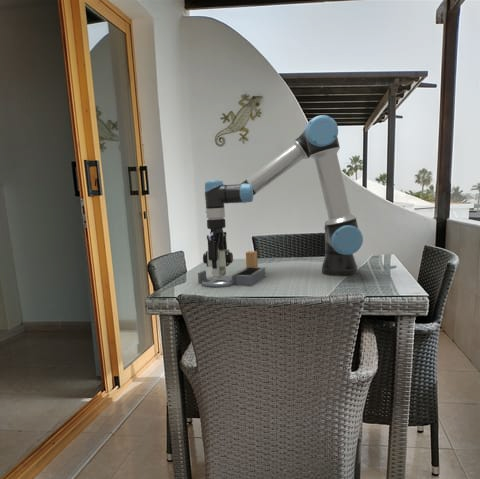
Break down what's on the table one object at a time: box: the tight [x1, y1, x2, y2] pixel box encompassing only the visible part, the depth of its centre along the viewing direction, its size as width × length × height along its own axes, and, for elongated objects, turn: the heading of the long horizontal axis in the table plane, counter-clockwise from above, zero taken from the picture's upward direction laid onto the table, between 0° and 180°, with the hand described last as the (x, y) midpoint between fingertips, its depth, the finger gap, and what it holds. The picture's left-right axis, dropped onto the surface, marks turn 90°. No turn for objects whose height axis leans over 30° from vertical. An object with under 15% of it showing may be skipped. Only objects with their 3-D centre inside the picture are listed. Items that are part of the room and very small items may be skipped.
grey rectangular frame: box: [231, 266, 267, 287], centre depth 149 cm, size 9×17×4 cm, turn 157°
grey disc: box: [197, 270, 241, 289], centre depth 148 cm, size 18×15×4 cm
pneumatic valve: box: [202, 248, 234, 277], centre depth 148 cm, size 6×12×12 cm, turn 78°
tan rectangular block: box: [245, 250, 259, 268], centre depth 163 cm, size 4×4×10 cm
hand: (219, 274), depth 148 cm, fingers closed on pneumatic valve, 5 cm apart
